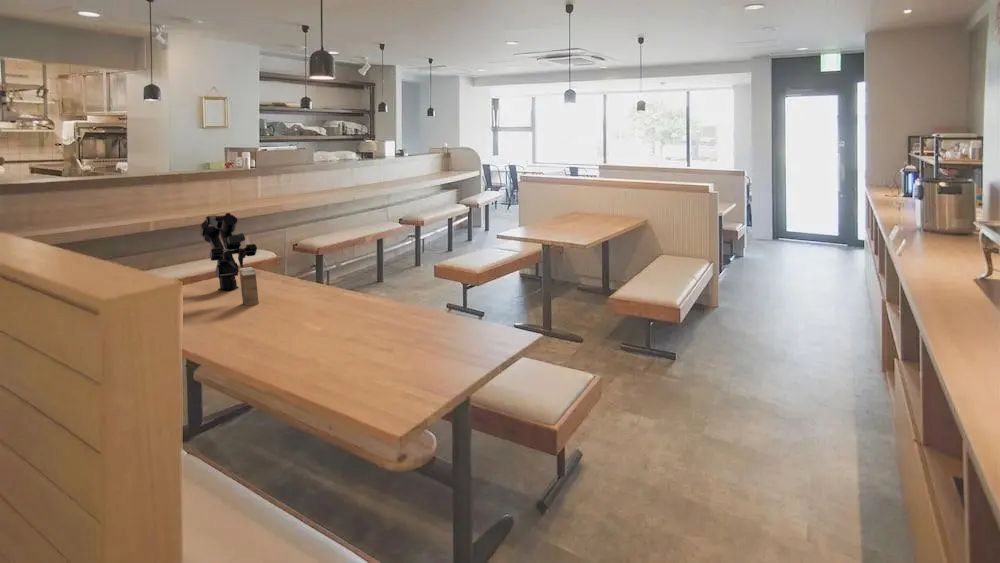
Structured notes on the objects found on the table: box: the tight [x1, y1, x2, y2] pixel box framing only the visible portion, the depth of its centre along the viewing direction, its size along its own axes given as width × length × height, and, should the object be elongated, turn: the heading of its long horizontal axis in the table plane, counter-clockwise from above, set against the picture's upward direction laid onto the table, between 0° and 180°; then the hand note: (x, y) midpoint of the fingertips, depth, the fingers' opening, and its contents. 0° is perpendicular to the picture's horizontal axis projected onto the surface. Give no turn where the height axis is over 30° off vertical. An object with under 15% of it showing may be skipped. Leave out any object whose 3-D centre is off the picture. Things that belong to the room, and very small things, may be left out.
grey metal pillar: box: [238, 266, 259, 307], centre depth 262 cm, size 5×5×15 cm
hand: (239, 267), depth 269 cm, fingers open, 2 cm apart
